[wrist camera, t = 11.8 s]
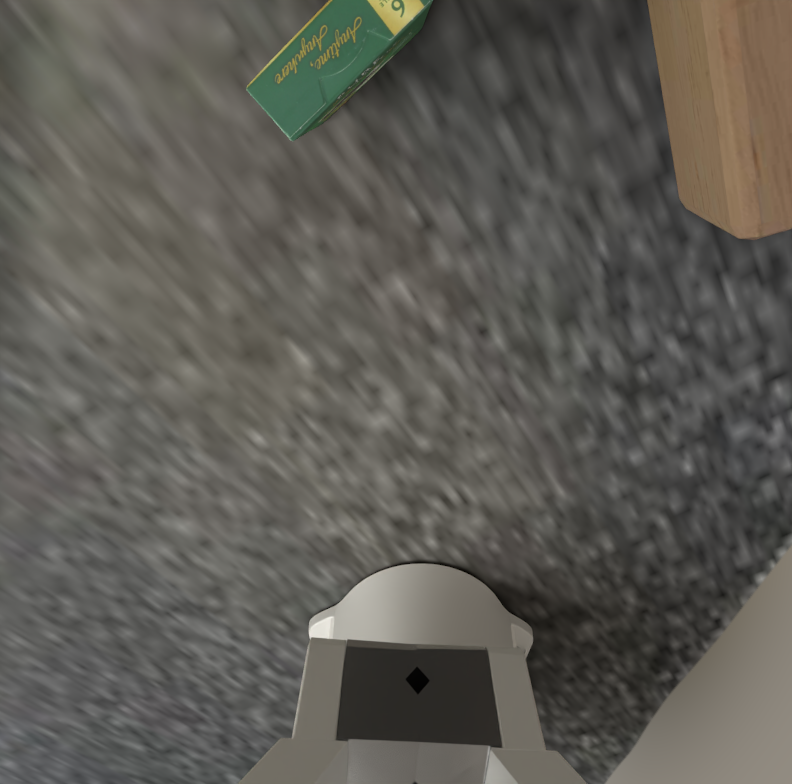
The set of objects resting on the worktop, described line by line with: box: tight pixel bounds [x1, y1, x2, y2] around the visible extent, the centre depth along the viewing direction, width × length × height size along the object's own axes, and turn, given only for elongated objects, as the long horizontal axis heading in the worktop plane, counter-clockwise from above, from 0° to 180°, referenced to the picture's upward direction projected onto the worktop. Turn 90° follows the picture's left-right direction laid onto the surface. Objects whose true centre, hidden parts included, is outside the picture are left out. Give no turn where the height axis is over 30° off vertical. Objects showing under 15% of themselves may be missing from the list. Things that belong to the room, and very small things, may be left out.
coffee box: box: [246, 0, 433, 141], centre depth 31 cm, size 8×3×13 cm, turn 130°
